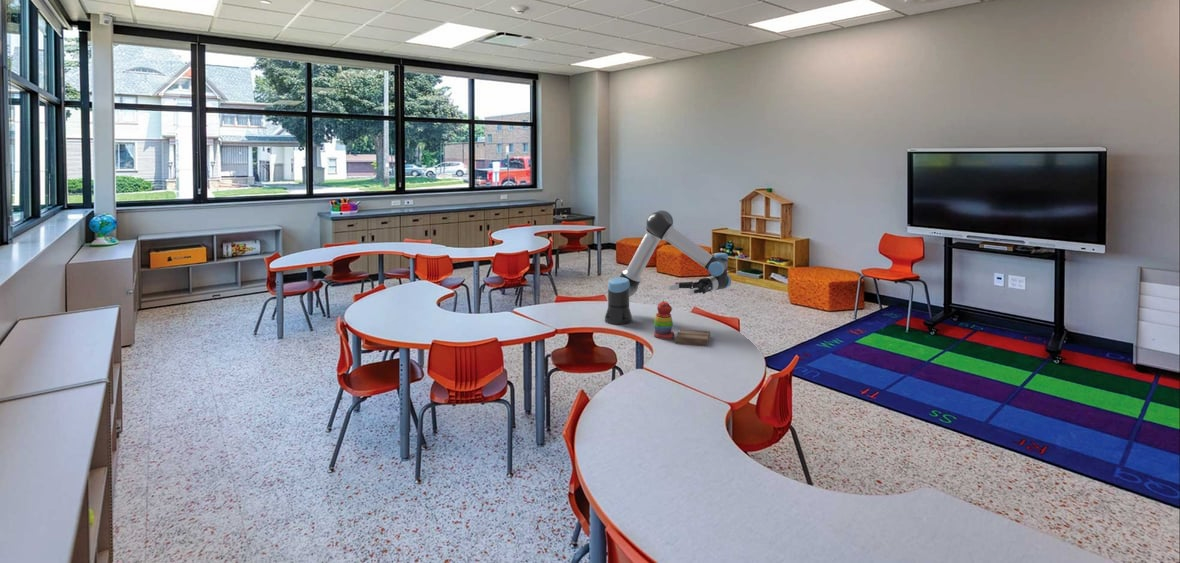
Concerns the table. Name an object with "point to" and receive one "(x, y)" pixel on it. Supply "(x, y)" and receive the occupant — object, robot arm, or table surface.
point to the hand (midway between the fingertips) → (678, 290)
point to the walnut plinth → (693, 337)
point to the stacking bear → (663, 322)
